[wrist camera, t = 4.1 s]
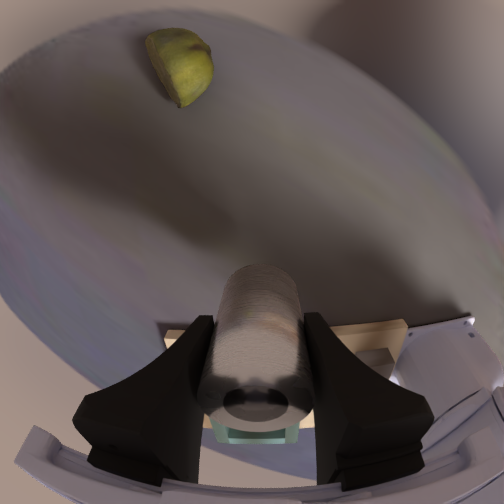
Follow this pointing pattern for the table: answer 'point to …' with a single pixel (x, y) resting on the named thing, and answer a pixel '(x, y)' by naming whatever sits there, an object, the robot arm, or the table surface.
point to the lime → (181, 63)
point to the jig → (357, 341)
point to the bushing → (258, 354)
